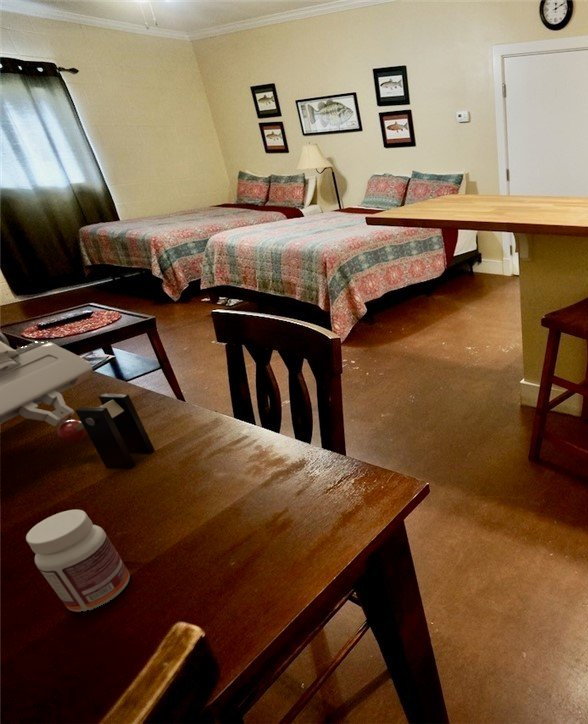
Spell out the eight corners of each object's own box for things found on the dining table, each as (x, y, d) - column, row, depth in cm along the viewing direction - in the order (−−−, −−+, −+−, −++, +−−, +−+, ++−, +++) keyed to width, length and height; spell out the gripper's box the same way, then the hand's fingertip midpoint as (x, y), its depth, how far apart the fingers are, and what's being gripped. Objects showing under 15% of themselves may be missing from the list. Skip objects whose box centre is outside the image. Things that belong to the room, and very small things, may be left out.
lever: (64, 449, 78) (45, 432, 76) (84, 436, 81) (67, 420, 80) (111, 423, 75) (93, 405, 73) (131, 411, 78) (113, 394, 77)
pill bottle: (140, 566, 62) (103, 501, 57) (115, 607, 57) (72, 539, 52) (85, 576, 61) (42, 511, 56) (54, 619, 56) (4, 551, 50)
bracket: (91, 478, 78) (54, 413, 72) (127, 452, 84) (96, 390, 79) (142, 480, 77) (109, 415, 72) (174, 453, 84) (146, 391, 78)
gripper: (39, 349, 84) (113, 397, 88) (-110, 411, 66) (-8, 469, 70) (50, 326, 82) (126, 377, 85) (-101, 384, 63) (4, 445, 67)
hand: (65, 419), depth 77 cm, fingers closed, pressing on lever
